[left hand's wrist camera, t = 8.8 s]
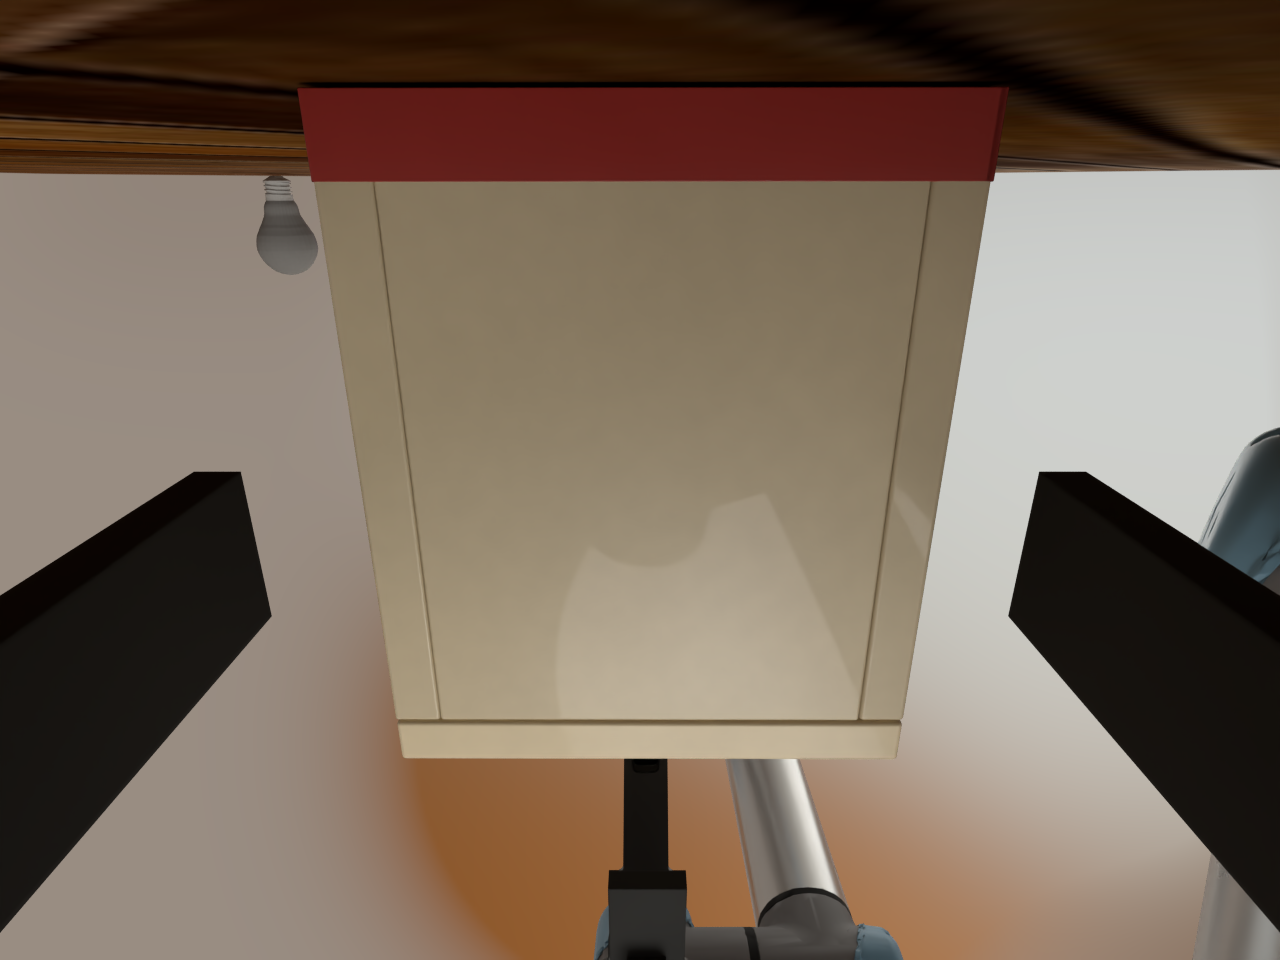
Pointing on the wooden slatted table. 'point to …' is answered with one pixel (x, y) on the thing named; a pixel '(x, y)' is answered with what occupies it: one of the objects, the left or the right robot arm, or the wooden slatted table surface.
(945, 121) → the chest
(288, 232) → the light bulb
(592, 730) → the lid
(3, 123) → the wooden slatted table surface
